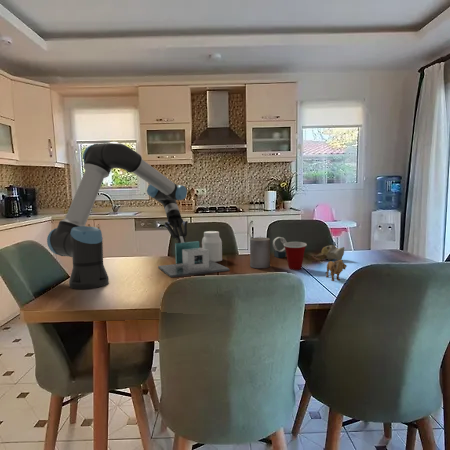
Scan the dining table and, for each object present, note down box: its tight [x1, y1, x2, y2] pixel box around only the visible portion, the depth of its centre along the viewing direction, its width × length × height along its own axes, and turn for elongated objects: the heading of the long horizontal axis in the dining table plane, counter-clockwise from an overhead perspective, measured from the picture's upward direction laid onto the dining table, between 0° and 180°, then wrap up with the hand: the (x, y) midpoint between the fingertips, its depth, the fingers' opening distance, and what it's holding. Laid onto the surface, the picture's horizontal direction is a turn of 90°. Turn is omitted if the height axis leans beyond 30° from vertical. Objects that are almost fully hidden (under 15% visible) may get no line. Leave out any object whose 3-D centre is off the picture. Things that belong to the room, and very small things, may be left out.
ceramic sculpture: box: [313, 243, 345, 261], centre depth 192 cm, size 11×9×15 cm
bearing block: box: [157, 247, 230, 279], centre depth 174 cm, size 28×22×10 cm
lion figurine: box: [324, 259, 348, 282], centre depth 153 cm, size 15×5×9 cm, turn 12°
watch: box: [272, 236, 287, 259], centre depth 202 cm, size 6×8×11 cm
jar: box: [201, 230, 223, 263], centre depth 196 cm, size 12×10×15 cm
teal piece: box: [174, 240, 201, 264], centre depth 176 cm, size 12×12×10 cm
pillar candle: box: [249, 236, 271, 269], centre depth 178 cm, size 10×10×15 cm
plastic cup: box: [283, 241, 308, 271], centre depth 172 cm, size 11×11×12 cm
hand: (183, 247), depth 189 cm, fingers closed
